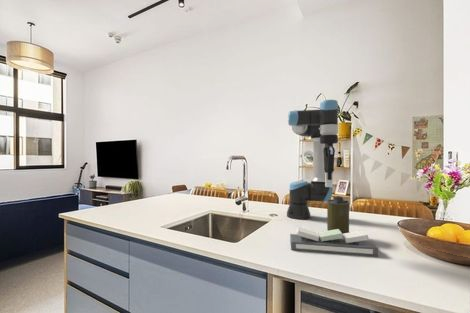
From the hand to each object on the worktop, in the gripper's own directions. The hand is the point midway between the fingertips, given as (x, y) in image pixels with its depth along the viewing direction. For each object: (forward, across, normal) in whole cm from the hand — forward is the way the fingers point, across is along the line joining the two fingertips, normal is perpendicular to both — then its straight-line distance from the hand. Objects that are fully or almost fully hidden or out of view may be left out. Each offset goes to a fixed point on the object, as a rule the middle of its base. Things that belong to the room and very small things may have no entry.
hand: (328, 186), depth 106 cm
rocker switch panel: (+26, +4, 0) cm, 27 cm away
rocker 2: (+22, +4, +10) cm, 24 cm away
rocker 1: (+22, +4, -10) cm, 24 cm away
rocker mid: (+22, +4, 0) cm, 22 cm away
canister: (+27, -13, +7) cm, 30 cm away
